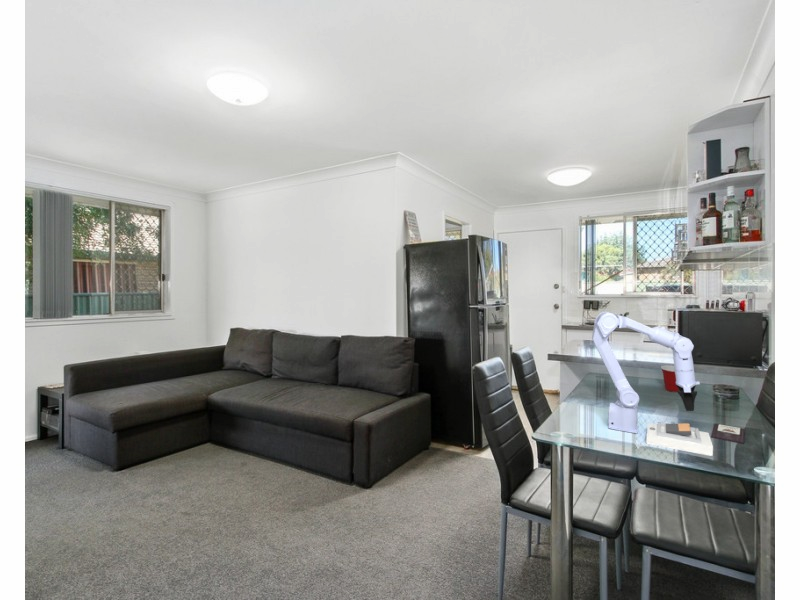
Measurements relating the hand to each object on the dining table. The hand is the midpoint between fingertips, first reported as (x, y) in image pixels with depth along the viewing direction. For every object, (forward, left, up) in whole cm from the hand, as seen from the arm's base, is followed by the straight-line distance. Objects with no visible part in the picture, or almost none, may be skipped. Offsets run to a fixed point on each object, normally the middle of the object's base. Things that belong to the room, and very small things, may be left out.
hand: (689, 407), depth 149 cm
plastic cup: (-3, +74, -10) cm, 75 cm away
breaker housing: (-3, -10, -10) cm, 14 cm away
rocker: (-3, -10, -7) cm, 12 cm away
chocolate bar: (+13, +11, -11) cm, 20 cm away
